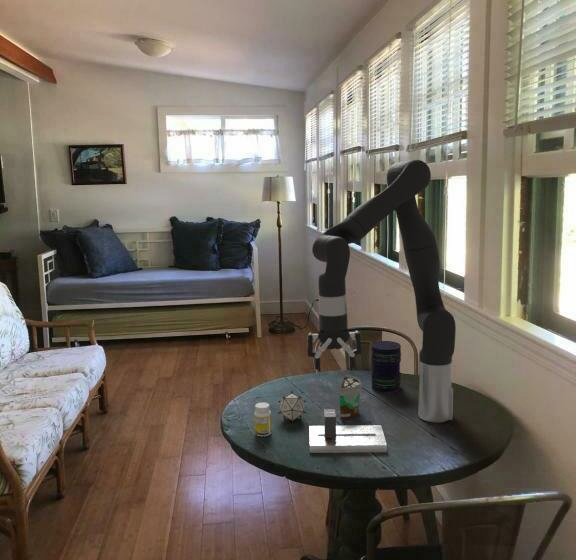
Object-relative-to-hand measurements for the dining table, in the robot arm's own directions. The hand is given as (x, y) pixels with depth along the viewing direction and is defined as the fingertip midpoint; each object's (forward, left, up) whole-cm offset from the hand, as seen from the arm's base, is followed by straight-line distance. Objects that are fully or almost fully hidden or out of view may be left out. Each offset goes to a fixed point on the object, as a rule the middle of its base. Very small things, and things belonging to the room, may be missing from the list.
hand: (334, 370), depth 155 cm
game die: (+12, -13, -20) cm, 27 cm away
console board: (-3, +2, -20) cm, 20 cm away
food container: (-6, -17, -20) cm, 27 cm away
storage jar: (-19, -38, -20) cm, 47 cm away
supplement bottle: (+20, -4, -20) cm, 29 cm away
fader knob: (+2, +2, -17) cm, 17 cm away
